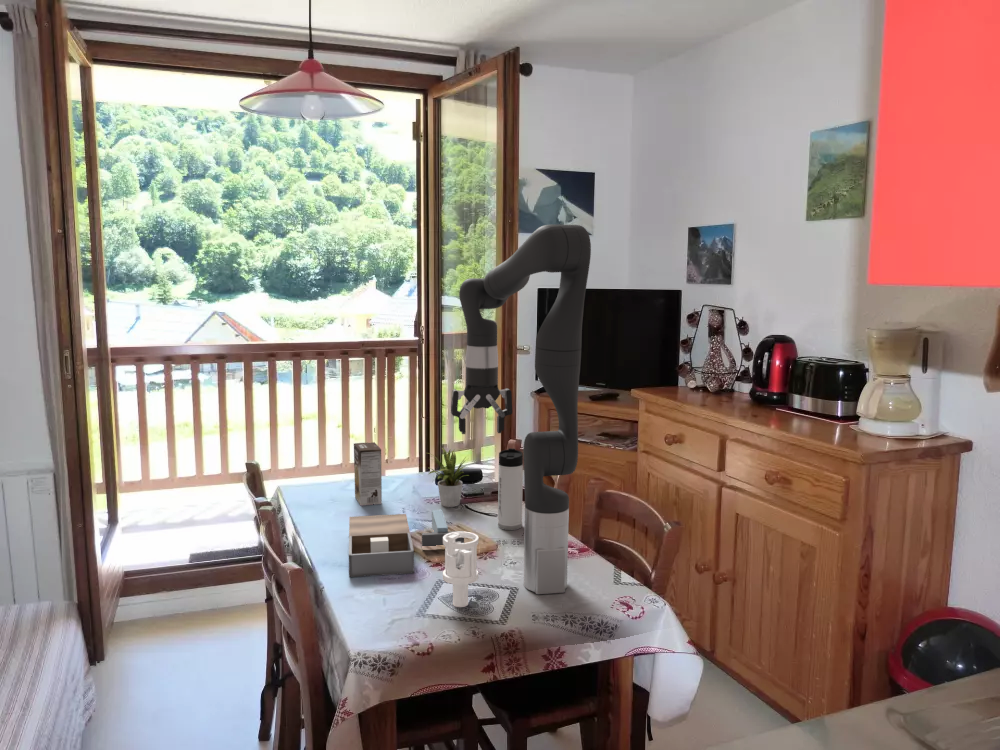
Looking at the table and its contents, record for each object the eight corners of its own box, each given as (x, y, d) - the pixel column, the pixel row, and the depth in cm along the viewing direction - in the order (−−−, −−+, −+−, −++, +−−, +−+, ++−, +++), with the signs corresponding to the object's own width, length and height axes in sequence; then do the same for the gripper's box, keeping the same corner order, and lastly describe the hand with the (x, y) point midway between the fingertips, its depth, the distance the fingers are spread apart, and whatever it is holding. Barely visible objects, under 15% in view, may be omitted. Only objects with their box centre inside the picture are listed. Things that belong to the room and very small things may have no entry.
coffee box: (354, 497, 224) (353, 443, 222) (375, 495, 226) (375, 441, 224) (359, 506, 215) (358, 450, 213) (382, 504, 218) (381, 448, 215)
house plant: (414, 499, 222) (414, 444, 220) (458, 493, 228) (458, 439, 226) (433, 513, 210) (433, 455, 207) (479, 506, 216) (479, 450, 214)
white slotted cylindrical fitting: (435, 605, 153) (435, 533, 151) (457, 593, 159) (457, 523, 157) (464, 614, 149) (464, 540, 147) (485, 601, 155) (485, 530, 153)
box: (414, 573, 169) (413, 551, 168) (349, 577, 166) (348, 555, 166) (410, 553, 181) (410, 532, 180) (349, 556, 178) (349, 536, 177)
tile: (387, 553, 179) (388, 557, 176) (370, 554, 178) (371, 558, 176) (387, 536, 178) (388, 540, 176) (370, 537, 177) (370, 541, 175)
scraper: (464, 548, 184) (464, 528, 183) (422, 551, 182) (422, 531, 181) (455, 527, 199) (455, 508, 198) (417, 529, 197) (417, 510, 197)
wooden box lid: (410, 553, 181) (410, 532, 180) (349, 556, 178) (349, 536, 177) (406, 533, 194) (406, 513, 193) (349, 536, 192) (349, 516, 191)
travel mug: (522, 522, 203) (523, 448, 200) (521, 530, 197) (522, 454, 194) (499, 521, 204) (500, 447, 201) (496, 529, 197) (497, 453, 194)
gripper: (453, 367, 173) (453, 437, 176) (515, 366, 176) (514, 435, 178) (449, 363, 181) (449, 430, 183) (508, 362, 183) (508, 429, 186)
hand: (481, 433), depth 181 cm, fingers open, 8 cm apart
